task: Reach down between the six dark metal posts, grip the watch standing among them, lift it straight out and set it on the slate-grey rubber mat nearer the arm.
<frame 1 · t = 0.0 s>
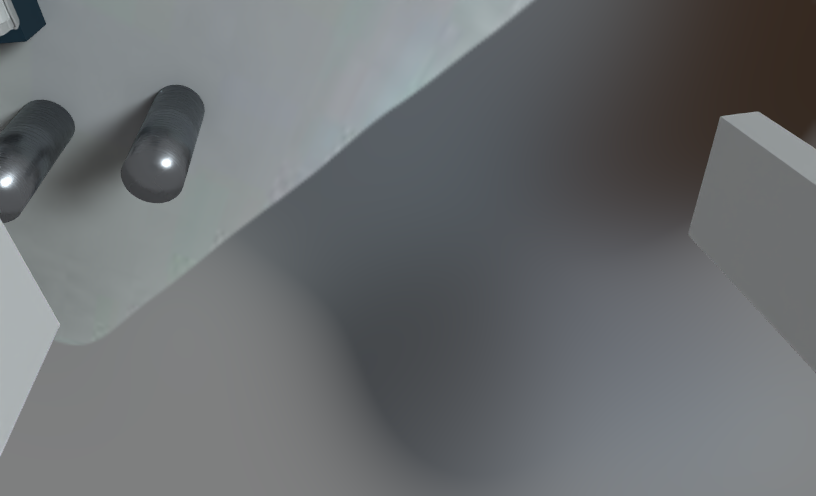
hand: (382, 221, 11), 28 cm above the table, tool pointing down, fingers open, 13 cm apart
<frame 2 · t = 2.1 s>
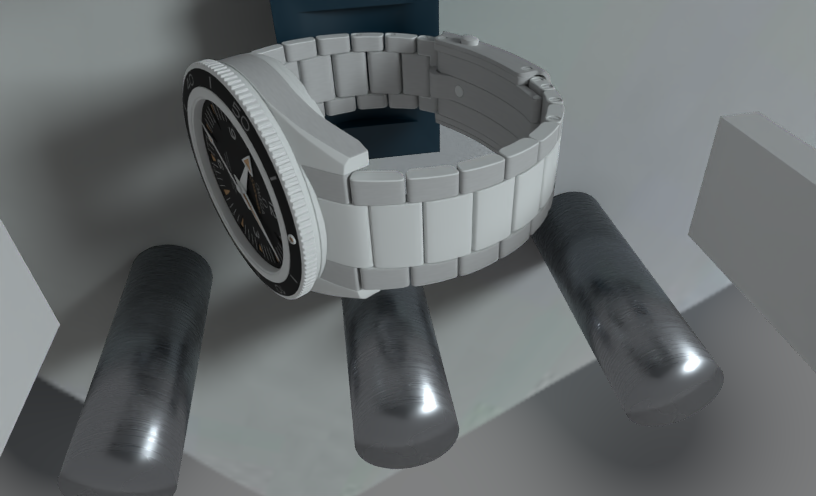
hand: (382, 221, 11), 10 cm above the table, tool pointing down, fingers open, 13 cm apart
post field: (350, 36, 19), on the table
watch: (350, 34, 19), on the table
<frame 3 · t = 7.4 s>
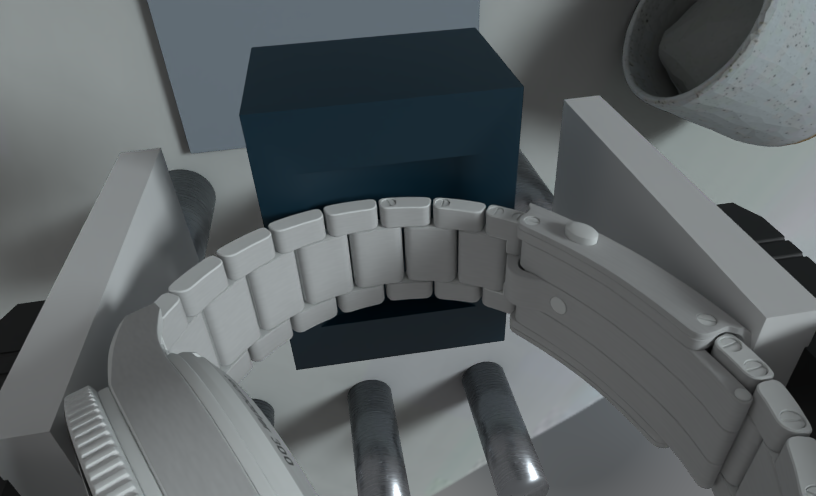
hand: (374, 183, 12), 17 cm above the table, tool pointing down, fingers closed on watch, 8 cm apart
post field: (357, 301, 36), on the table
watch: (370, 162, 13), point 16 cm above the table, touching gripper
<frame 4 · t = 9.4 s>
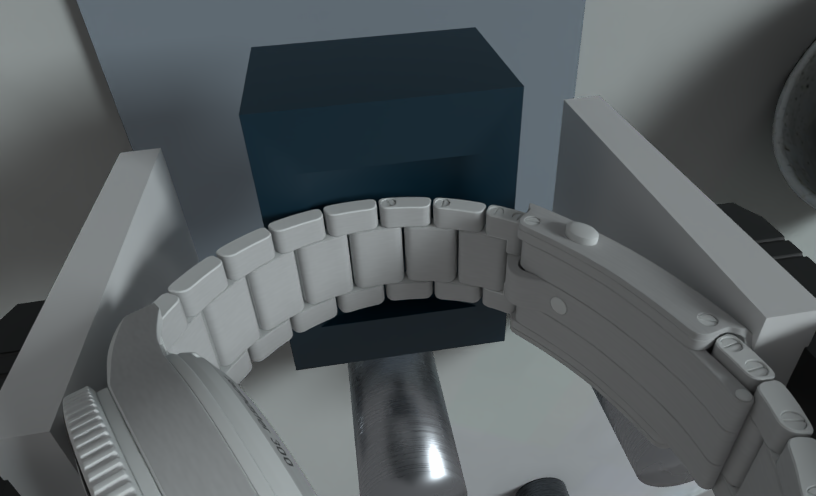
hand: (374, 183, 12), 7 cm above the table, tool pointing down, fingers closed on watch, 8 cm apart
post field: (394, 425, 29), on the table
watch: (370, 162, 13), point 6 cm above the table, touching gripper
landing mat: (352, 59, 18), on the table
when the fingers open (3 cm above the table, at t = 11.2 s): watch drops 1 cm, resting on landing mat.
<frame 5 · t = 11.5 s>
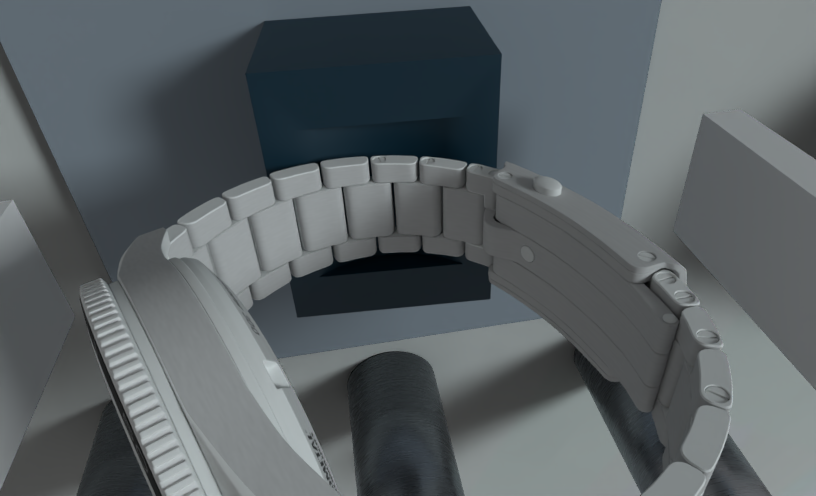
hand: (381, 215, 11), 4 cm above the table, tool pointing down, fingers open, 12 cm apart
watch: (373, 132, 14), resting on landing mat
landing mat: (362, 127, 15), on the table
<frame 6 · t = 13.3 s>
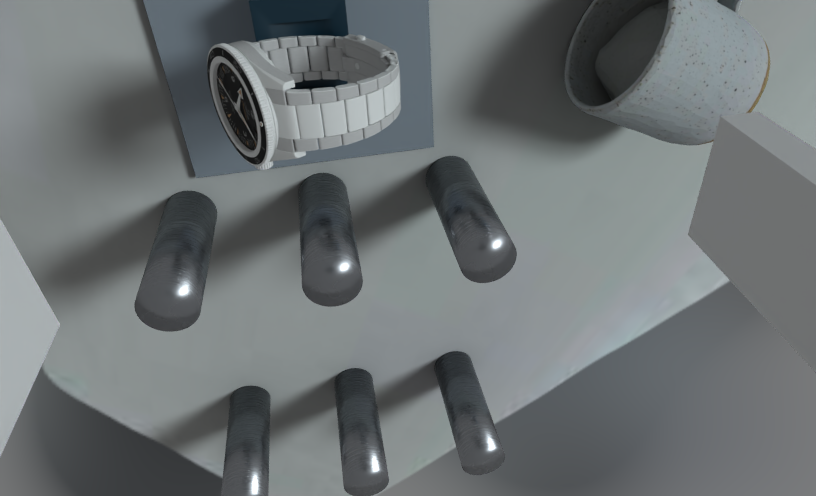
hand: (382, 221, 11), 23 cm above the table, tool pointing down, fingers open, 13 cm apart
ceramic mug: (641, 19, 34), on the table
post field: (340, 299, 42), on the table
watch: (302, 39, 31), resting on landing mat
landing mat: (297, 39, 32), on the table
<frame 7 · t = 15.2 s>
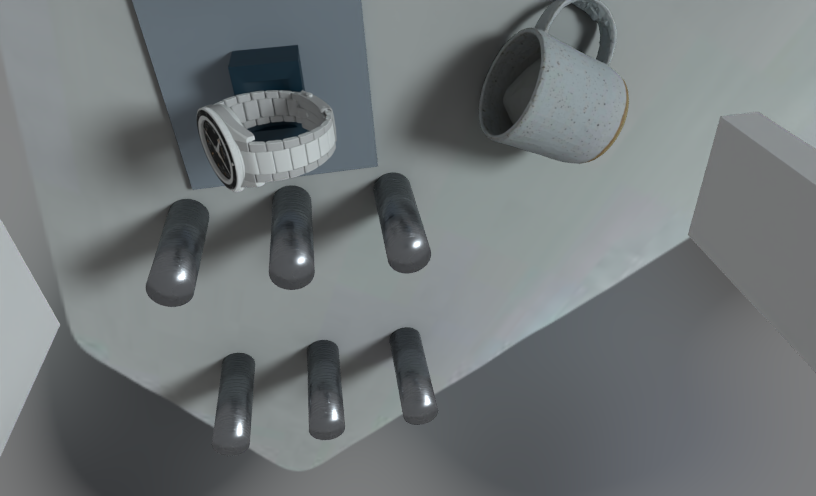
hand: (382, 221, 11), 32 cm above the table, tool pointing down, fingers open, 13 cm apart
ceramic mug: (541, 63, 44), on the table
post field: (309, 284, 52), on the table
watch: (271, 87, 41), resting on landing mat
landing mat: (268, 86, 42), on the table
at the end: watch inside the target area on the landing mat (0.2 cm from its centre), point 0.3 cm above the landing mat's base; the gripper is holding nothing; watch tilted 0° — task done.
